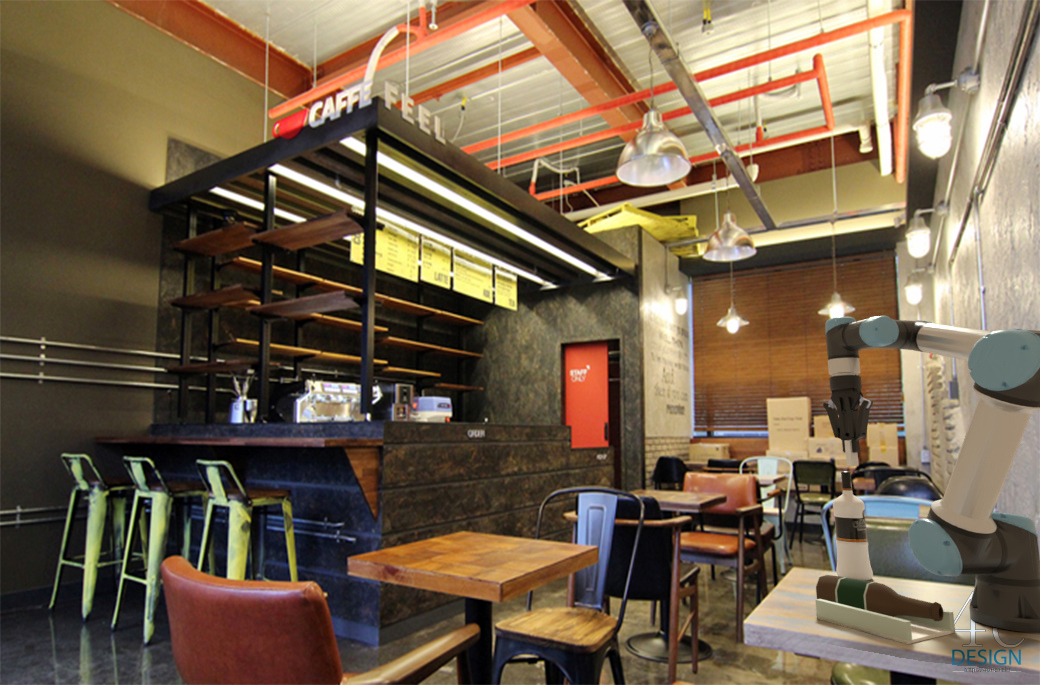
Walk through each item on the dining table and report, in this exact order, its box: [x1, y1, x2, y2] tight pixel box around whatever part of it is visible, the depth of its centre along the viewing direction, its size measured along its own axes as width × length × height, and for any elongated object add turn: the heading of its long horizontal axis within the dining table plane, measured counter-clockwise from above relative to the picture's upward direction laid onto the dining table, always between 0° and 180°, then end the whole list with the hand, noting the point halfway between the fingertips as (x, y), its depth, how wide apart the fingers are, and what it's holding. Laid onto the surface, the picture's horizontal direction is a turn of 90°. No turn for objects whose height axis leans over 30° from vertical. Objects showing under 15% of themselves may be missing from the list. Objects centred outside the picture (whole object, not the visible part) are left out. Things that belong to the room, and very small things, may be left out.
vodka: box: [832, 470, 874, 581], centre depth 181 cm, size 9×9×30 cm
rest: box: [815, 598, 956, 645], centre depth 133 cm, size 20×16×4 cm
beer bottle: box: [815, 574, 944, 621], centre depth 136 cm, size 8×8×24 cm
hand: (852, 465), depth 163 cm, fingers closed
